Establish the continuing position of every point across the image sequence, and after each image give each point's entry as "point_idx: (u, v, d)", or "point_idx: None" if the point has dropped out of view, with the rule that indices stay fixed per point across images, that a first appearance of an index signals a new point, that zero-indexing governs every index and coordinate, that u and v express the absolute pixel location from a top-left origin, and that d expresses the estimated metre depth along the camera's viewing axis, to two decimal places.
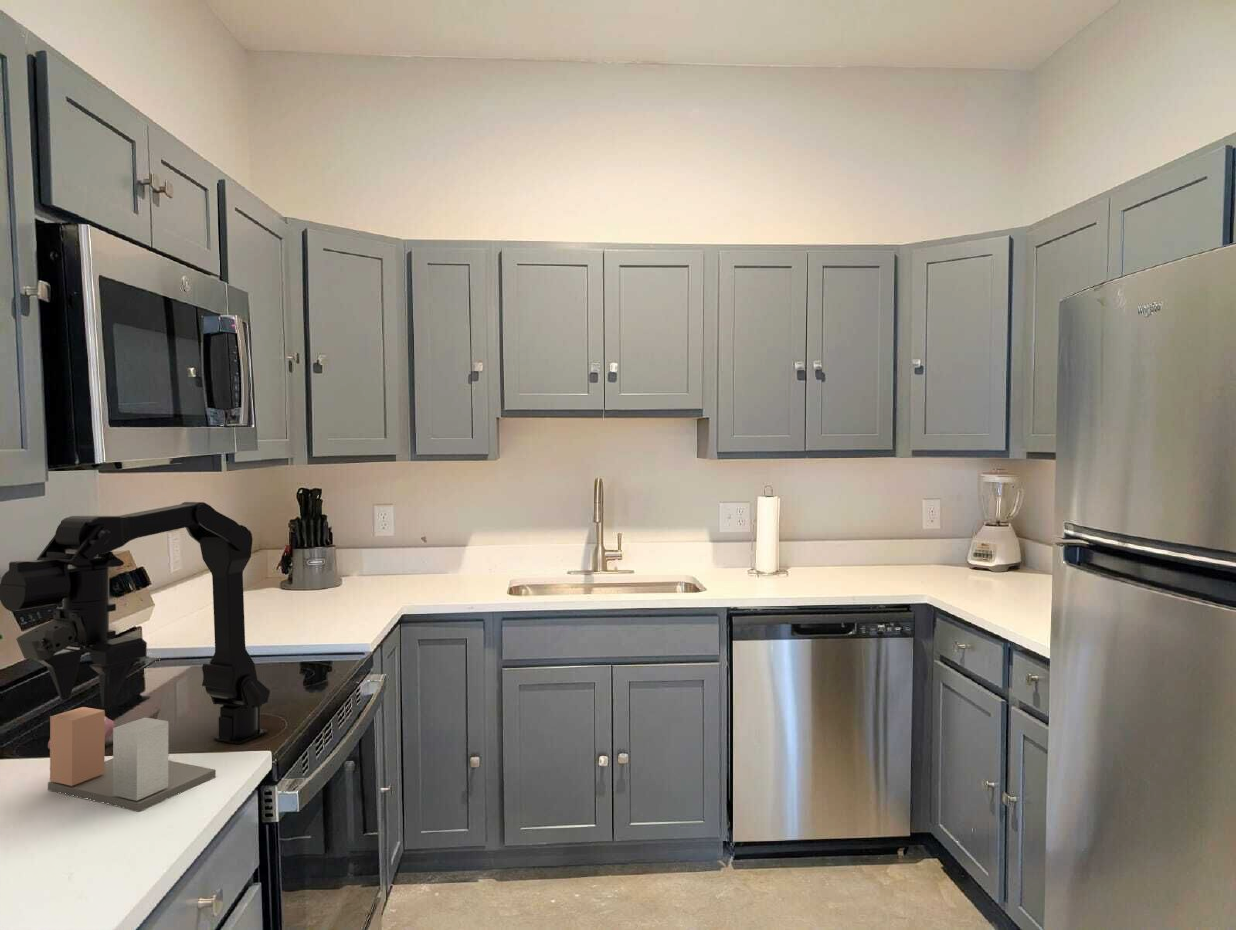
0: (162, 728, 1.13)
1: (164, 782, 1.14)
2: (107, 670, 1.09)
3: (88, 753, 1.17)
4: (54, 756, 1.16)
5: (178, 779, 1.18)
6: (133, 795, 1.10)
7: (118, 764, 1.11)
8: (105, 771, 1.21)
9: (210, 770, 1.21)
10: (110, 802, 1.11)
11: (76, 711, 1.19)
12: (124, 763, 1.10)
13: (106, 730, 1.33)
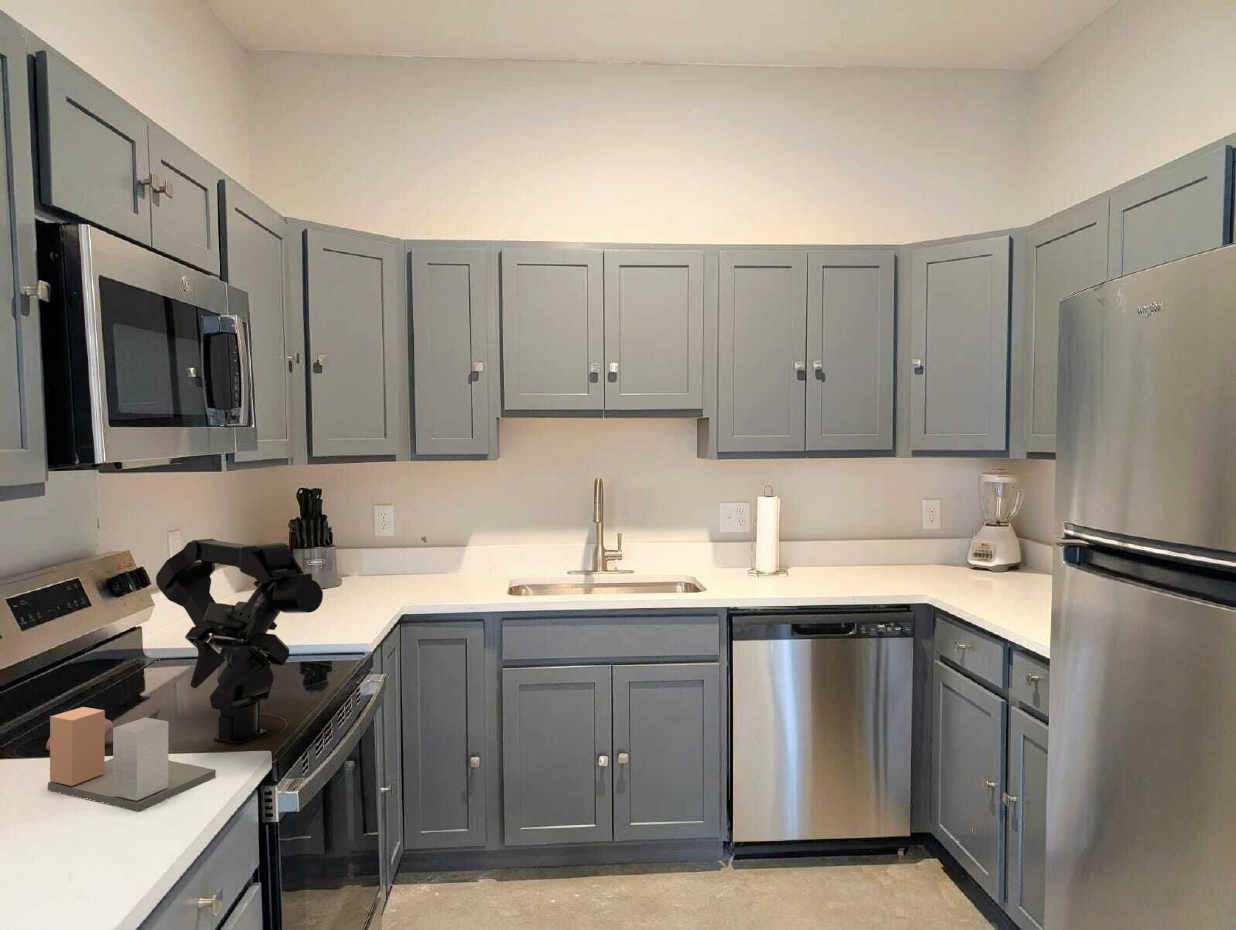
0: (162, 728, 1.13)
1: (164, 782, 1.14)
2: (247, 657, 1.25)
3: (88, 753, 1.17)
4: (54, 756, 1.16)
5: (178, 779, 1.18)
6: (133, 795, 1.10)
7: (118, 764, 1.11)
8: (105, 771, 1.21)
9: (210, 770, 1.21)
10: (110, 802, 1.11)
11: (76, 711, 1.19)
12: (124, 763, 1.10)
13: None
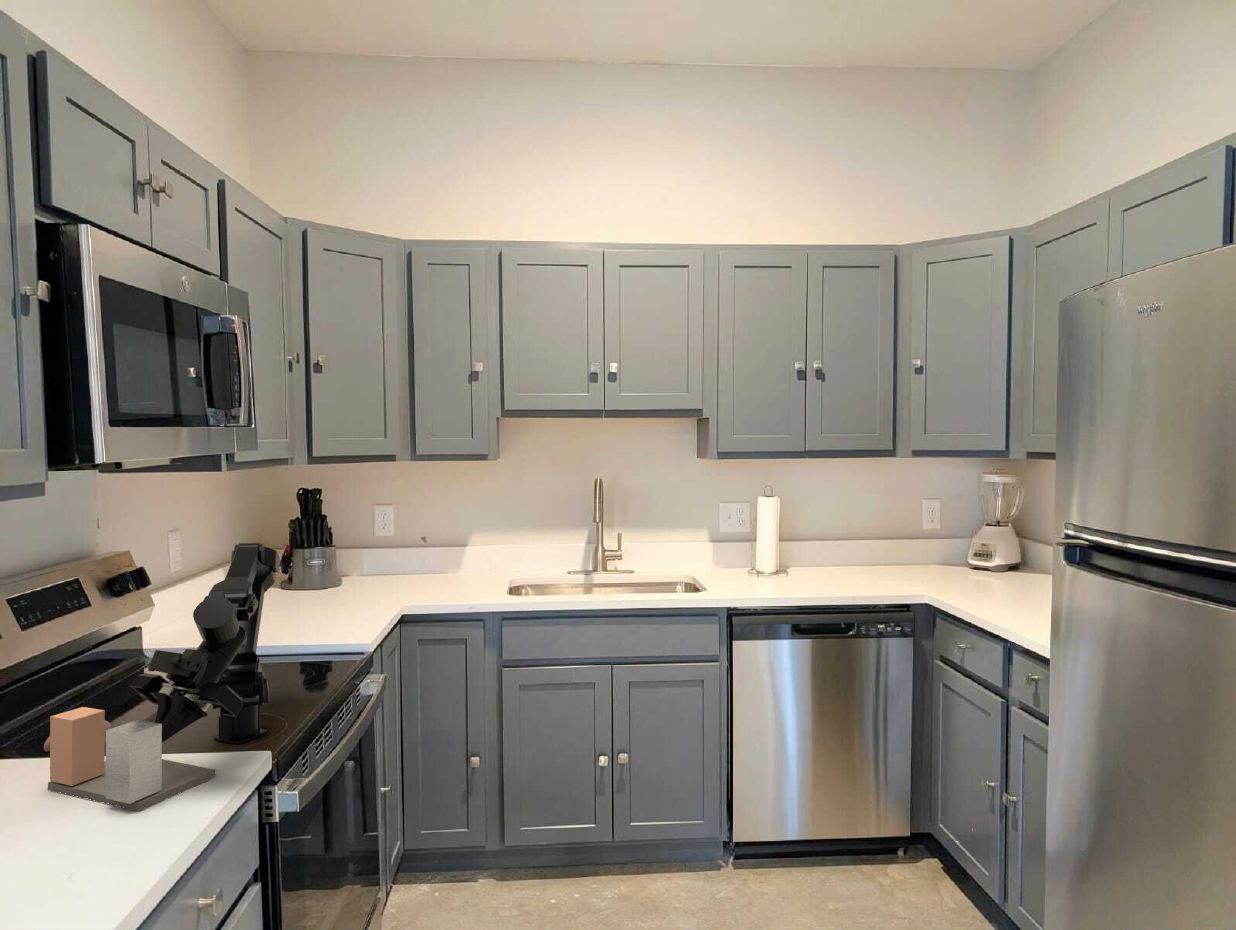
0: (155, 730, 1.12)
1: (157, 785, 1.13)
2: (181, 707, 1.17)
3: (88, 753, 1.17)
4: (54, 756, 1.16)
5: (178, 779, 1.18)
6: (126, 798, 1.09)
7: (111, 767, 1.10)
8: (105, 771, 1.21)
9: (210, 770, 1.21)
10: (110, 802, 1.11)
11: (76, 711, 1.19)
12: (116, 766, 1.09)
13: None
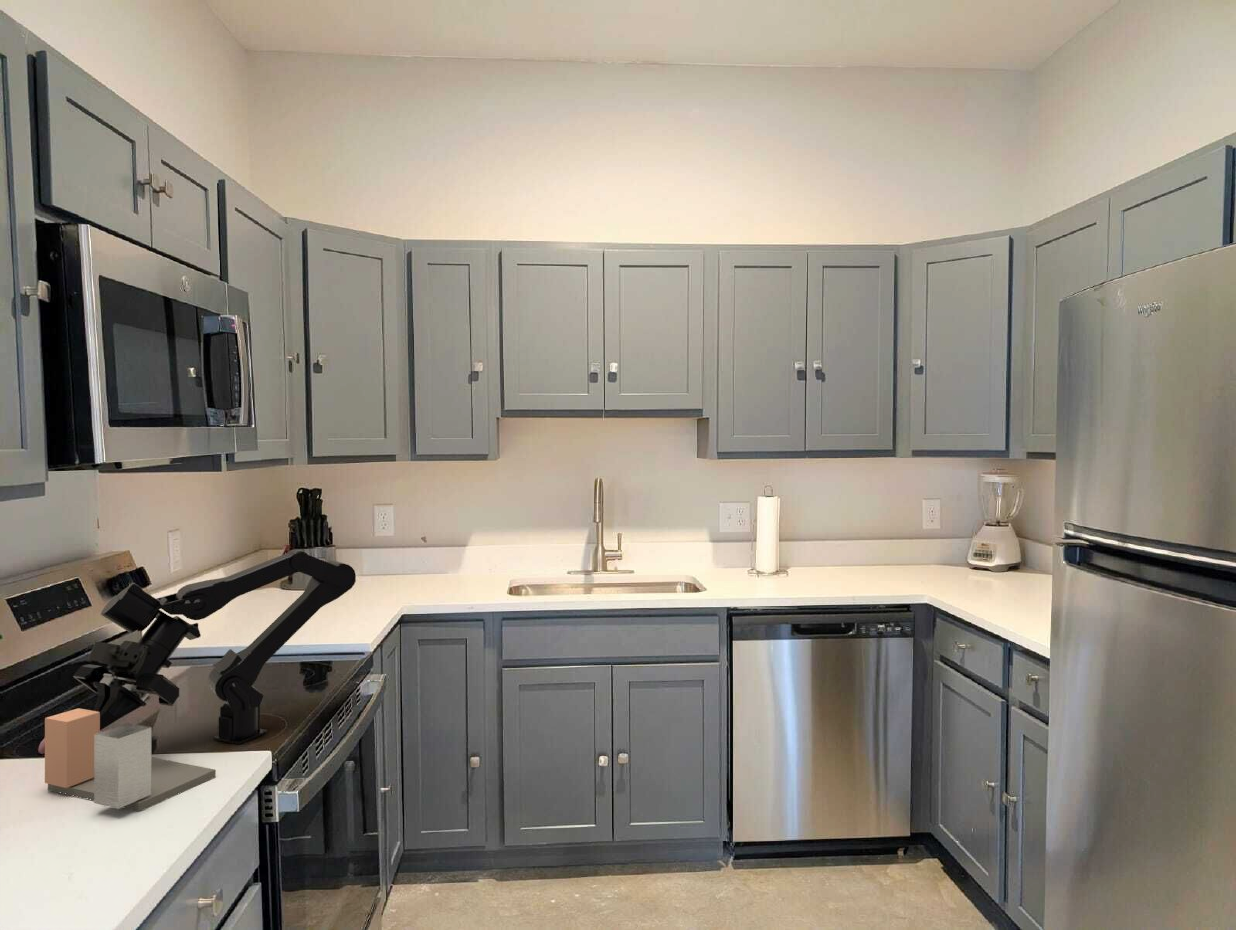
0: (145, 734, 1.11)
1: (147, 789, 1.11)
2: (119, 696, 1.22)
3: (83, 755, 1.16)
4: (48, 758, 1.15)
5: (178, 779, 1.18)
6: (114, 803, 1.07)
7: (99, 772, 1.08)
8: None
9: (210, 770, 1.21)
10: None
11: (71, 712, 1.18)
12: (105, 770, 1.08)
13: None
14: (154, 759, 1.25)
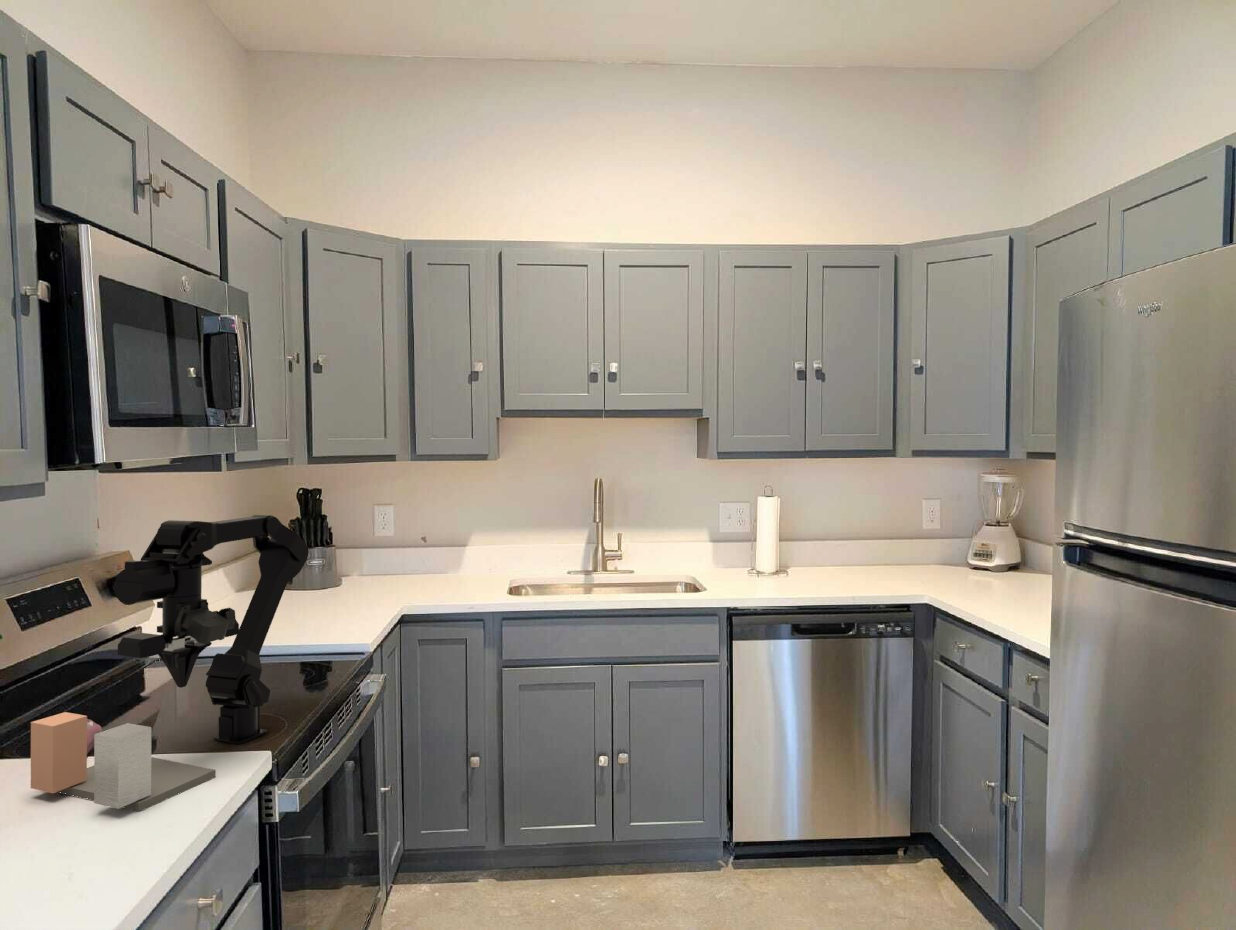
0: (145, 734, 1.11)
1: (147, 789, 1.11)
2: None
3: (70, 760, 1.14)
4: (34, 763, 1.13)
5: (178, 779, 1.18)
6: (114, 803, 1.07)
7: (99, 772, 1.08)
8: None
9: (210, 770, 1.21)
10: None
11: (58, 716, 1.16)
12: (105, 770, 1.08)
13: (93, 735, 1.31)
14: (154, 759, 1.25)
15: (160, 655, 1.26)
